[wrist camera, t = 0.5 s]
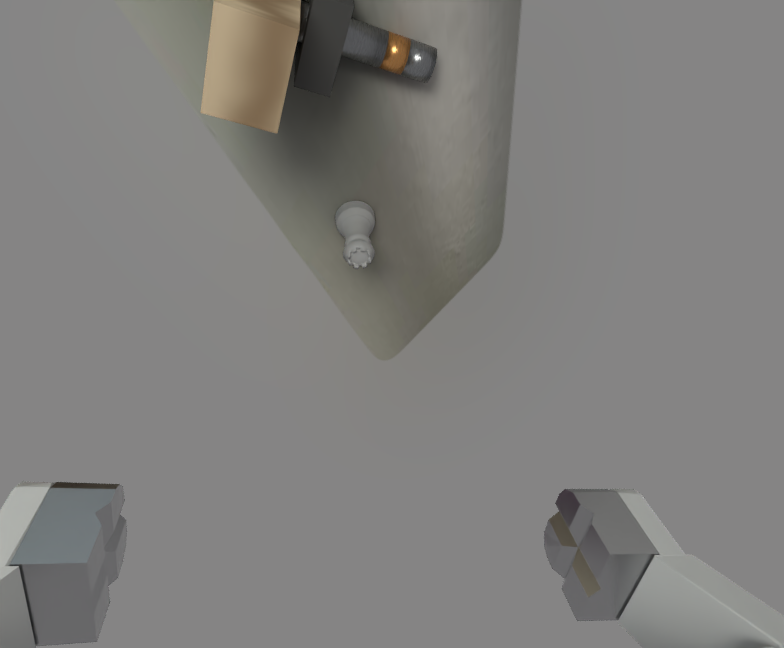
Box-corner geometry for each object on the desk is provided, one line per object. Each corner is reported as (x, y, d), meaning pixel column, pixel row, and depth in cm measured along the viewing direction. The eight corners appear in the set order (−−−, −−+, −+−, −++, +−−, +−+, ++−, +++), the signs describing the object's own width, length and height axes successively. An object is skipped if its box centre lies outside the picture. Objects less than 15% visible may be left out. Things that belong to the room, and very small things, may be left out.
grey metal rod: (259, 22, 47) (257, 33, 45) (266, -17, 45) (264, -7, 43) (421, 75, 51) (426, 88, 49) (433, 43, 50) (439, 54, 47)
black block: (295, 59, 49) (294, 86, 45) (314, -27, 45) (314, -7, 40) (328, 70, 50) (329, 97, 45) (349, -14, 45) (354, 7, 41)
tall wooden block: (226, 36, 47) (200, 112, 36) (238, -54, 43) (213, 1, 32) (284, 55, 49) (277, 133, 37) (301, -30, 44) (299, 29, 33)
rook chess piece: (379, 226, 63) (386, 270, 57) (341, 236, 63) (345, 281, 57) (368, 193, 60) (375, 236, 54) (329, 204, 60) (331, 247, 54)
